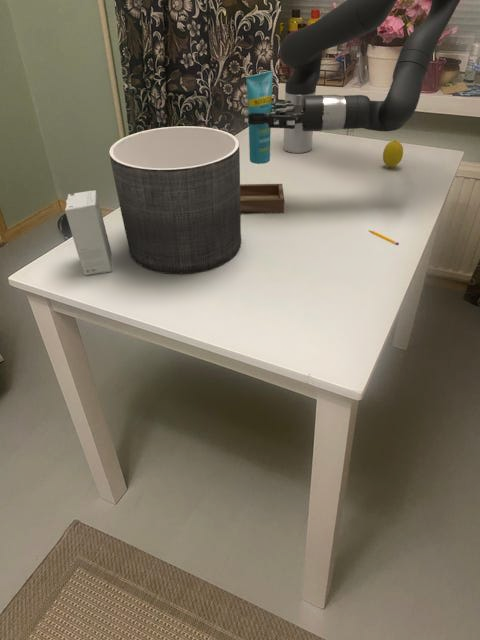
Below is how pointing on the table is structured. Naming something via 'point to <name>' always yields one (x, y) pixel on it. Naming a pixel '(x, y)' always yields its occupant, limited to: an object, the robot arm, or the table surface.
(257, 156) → the tube
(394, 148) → the lemon
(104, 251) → the skincare box
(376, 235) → the pencil
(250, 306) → the table surface
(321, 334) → the table surface
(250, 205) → the tray
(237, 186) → the planter
